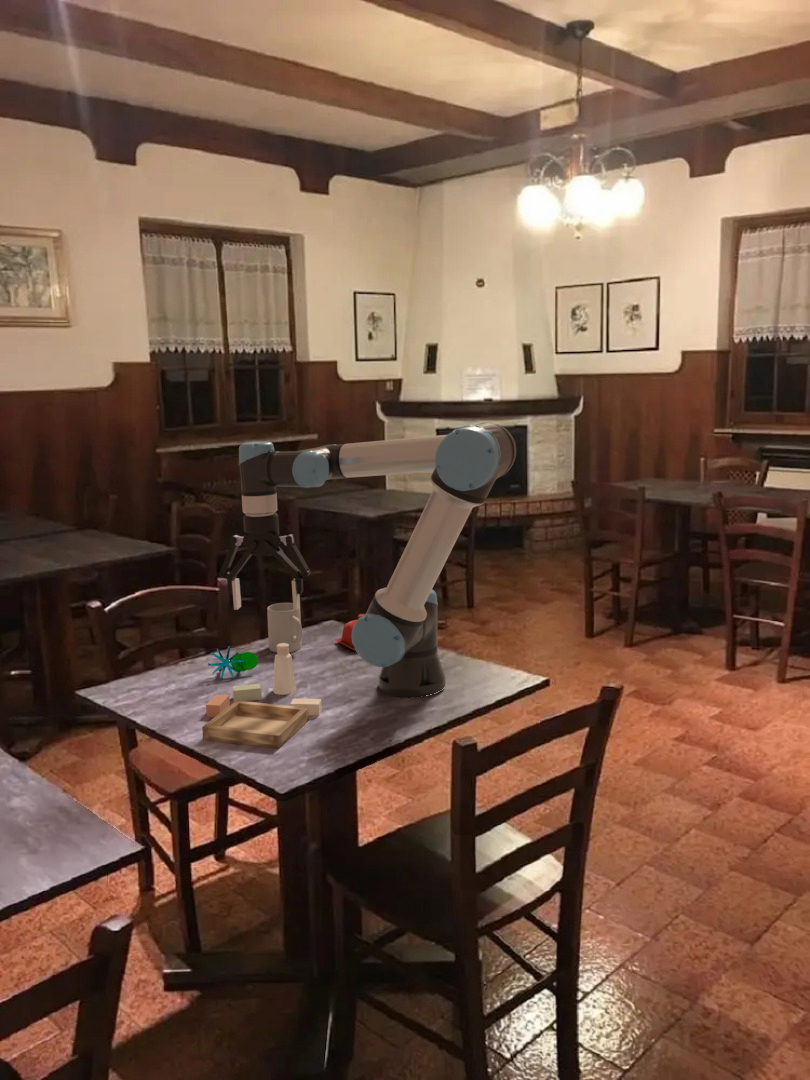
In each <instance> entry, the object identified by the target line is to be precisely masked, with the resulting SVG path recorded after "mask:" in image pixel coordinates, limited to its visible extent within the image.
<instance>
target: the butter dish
mask: <svg viewBox="0 0 810 1080" xmlns="http://www.w3.org/2000/svg"><path fill="white" fill-rule="evenodd" d="M365 614H366V613H359V614H357V615H358V616H357V618H358V619H359V618H360V617H361V616H363V615H365ZM358 619H354V620H351V621H348V622H347V623H345V624H344V625H343V629H342V634H341V637H338V638H336V639H335V641H336V642H337V643H339V644H340V645H343V646H344V647H347V648H349V649H350V650H353V651H356V650H355V647H354V645H353V643H352V629H353V627H354V625H355V623H356V622H357V620H358Z"/></svg>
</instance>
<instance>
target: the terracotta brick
mask: <svg viewBox="0 0 810 1080" xmlns="http://www.w3.org/2000/svg"><path fill="white" fill-rule="evenodd" d="M230 699H231V698H230V694H215V695H214V696H213V697H212V698H211V699H210V700H209V701H208V702H207V703H206V704H205V710H206V717H209V718H210V717H211V718H214V717H216V716H217V715H218V714H220V713H221V712H222V711H223V710H225V709H226V708H227V707H229V706H230V705H231V702H230V701H231V700H230Z"/></svg>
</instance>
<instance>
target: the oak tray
mask: <svg viewBox="0 0 810 1080" xmlns="http://www.w3.org/2000/svg"><path fill="white" fill-rule="evenodd" d="M309 721H310V716H309V708H303V707H294V706H291V705H285V704H284V705H282V704H272V703H263V702H255V701H235V702H234V701H233V703H230V706H229V707H227V708H226V709H225V710H223V711H222V712H221V713H220V714H218V715H217V716H216V717H212V719H211V720H209V721H208V722H207V723H205V724H204V725H203V726H202V728H201V730H202V731H201V732H202V740H203V741H208V742H209V741H210V742H218V743H226V744H235V745H244V746H250V747H251V746H252V747H259V748H270V749H278V750H281V748H282V747H283V746H284V745H285V744H286V743H287V742H288V741H289V740H290V739H292V738H293V736H295V735H296V734H297V733H298V732H299V731H300V730H301V729H302V728H303V727H304V726H305V725H306V724H307V723H308V722H309Z"/></svg>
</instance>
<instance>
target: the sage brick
mask: <svg viewBox="0 0 810 1080" xmlns="http://www.w3.org/2000/svg"><path fill="white" fill-rule="evenodd" d="M262 693H263V692H262V686H261V683H254V684H253V683H250V684H242V685H233V686H232V698H233V703H234V702H235V701H246V702H252V701H259V700H263V697H262Z"/></svg>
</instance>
